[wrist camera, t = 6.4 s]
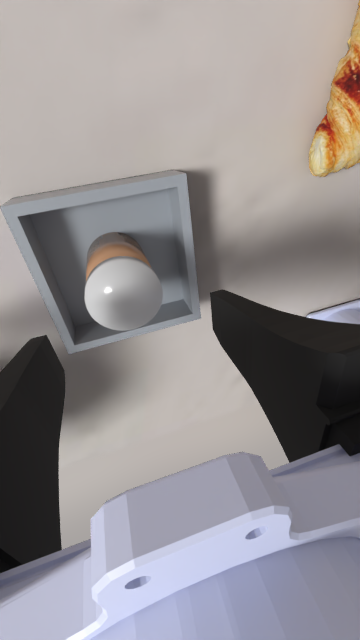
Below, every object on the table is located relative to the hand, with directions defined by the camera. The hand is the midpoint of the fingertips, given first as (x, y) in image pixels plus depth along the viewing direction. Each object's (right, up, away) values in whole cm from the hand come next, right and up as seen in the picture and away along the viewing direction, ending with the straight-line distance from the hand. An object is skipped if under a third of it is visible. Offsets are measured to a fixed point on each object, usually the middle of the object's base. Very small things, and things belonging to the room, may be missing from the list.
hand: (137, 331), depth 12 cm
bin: (-3, +5, +8) cm, 10 cm away
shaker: (-3, +5, +7) cm, 9 cm away
